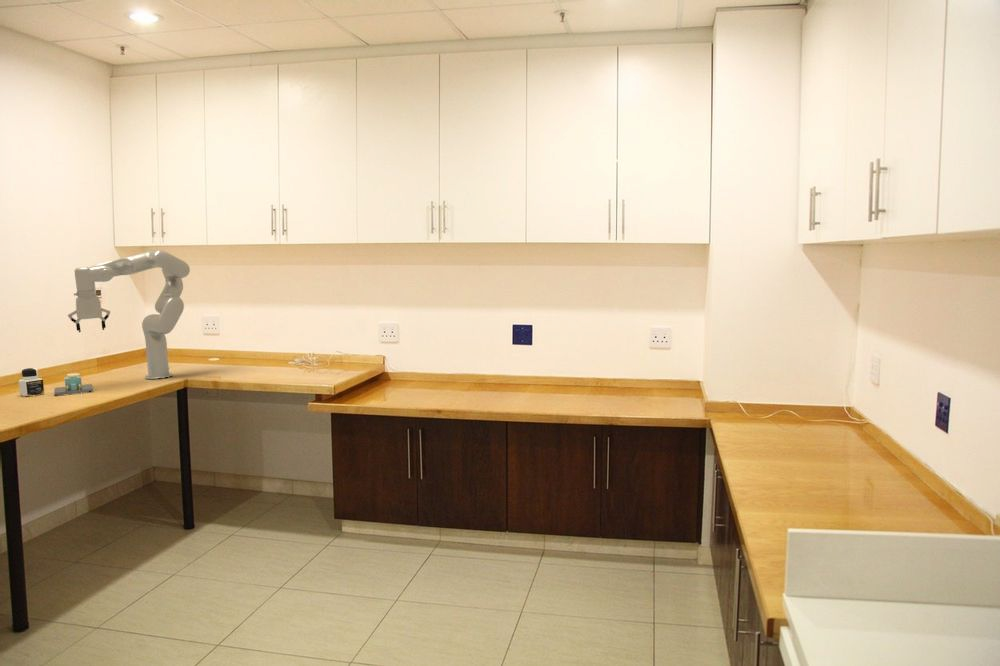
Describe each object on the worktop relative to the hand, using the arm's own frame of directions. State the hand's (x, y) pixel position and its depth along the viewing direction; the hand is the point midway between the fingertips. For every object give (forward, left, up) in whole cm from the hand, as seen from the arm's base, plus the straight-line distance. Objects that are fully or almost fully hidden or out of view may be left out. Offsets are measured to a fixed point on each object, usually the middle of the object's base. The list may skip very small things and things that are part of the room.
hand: (91, 330), depth 338 cm
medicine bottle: (+12, -23, -27) cm, 37 cm away
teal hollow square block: (+9, -6, -25) cm, 28 cm away
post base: (+8, -7, -27) cm, 29 cm away
